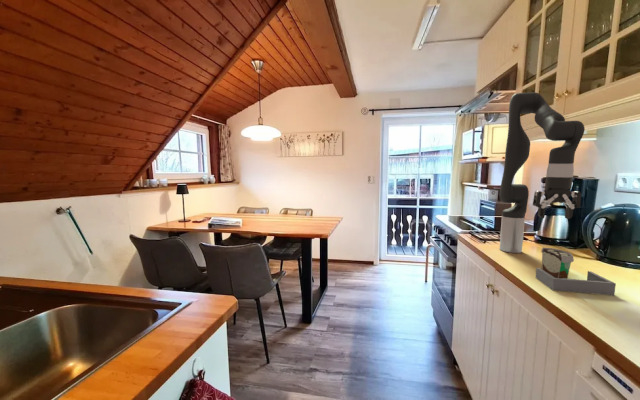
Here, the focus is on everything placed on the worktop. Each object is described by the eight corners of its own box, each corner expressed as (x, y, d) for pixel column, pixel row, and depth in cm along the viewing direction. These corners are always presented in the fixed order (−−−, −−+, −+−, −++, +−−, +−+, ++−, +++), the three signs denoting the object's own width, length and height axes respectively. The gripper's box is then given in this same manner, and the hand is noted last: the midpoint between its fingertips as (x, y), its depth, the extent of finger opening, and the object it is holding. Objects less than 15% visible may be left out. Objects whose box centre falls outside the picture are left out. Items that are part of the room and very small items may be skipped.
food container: (580, 285, 94) (583, 258, 93) (560, 284, 95) (563, 256, 94) (557, 272, 106) (559, 247, 105) (539, 271, 107) (541, 246, 106)
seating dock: (535, 278, 100) (536, 267, 100) (590, 282, 96) (591, 271, 96) (552, 290, 90) (553, 278, 90) (614, 295, 86) (615, 283, 86)
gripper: (575, 175, 102) (569, 216, 105) (532, 175, 106) (528, 215, 108) (589, 176, 95) (583, 221, 97) (542, 176, 98) (538, 219, 101)
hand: (554, 218), depth 103 cm, fingers open, 8 cm apart
